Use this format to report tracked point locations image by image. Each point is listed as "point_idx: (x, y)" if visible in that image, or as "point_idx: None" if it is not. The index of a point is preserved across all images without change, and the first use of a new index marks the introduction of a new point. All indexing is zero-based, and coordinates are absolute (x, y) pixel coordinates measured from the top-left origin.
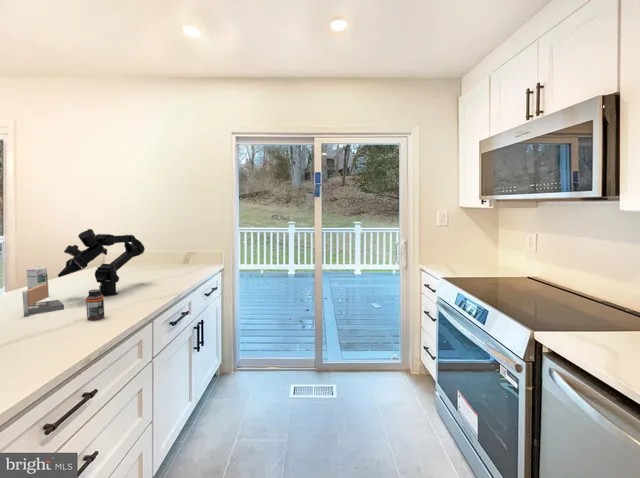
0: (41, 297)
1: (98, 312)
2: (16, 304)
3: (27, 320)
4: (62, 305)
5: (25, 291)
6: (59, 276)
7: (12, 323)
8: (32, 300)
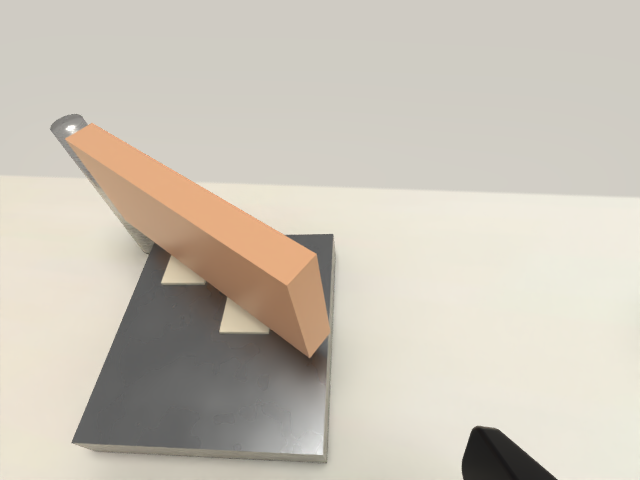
0: (215, 280)
1: None
2: (519, 234)
3: (63, 239)
4: (79, 432)
5: (66, 125)
6: (469, 470)
7: (82, 195)
8: (133, 218)
